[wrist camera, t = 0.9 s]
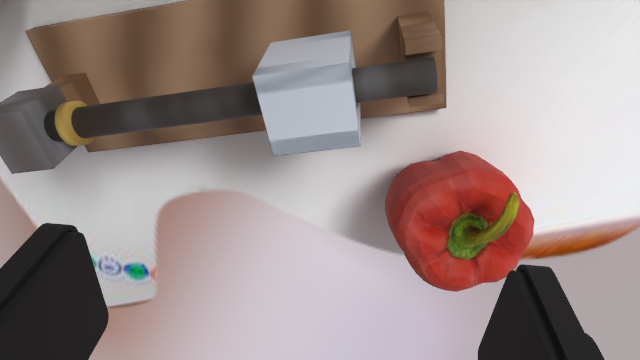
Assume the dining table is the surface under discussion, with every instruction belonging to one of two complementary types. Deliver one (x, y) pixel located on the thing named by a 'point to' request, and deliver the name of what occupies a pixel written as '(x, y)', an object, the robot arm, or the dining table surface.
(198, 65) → the rod stand
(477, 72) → the dining table surface
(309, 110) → the sleeve
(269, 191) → the dining table surface
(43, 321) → the robot arm
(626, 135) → the dining table surface
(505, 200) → the vegetable
